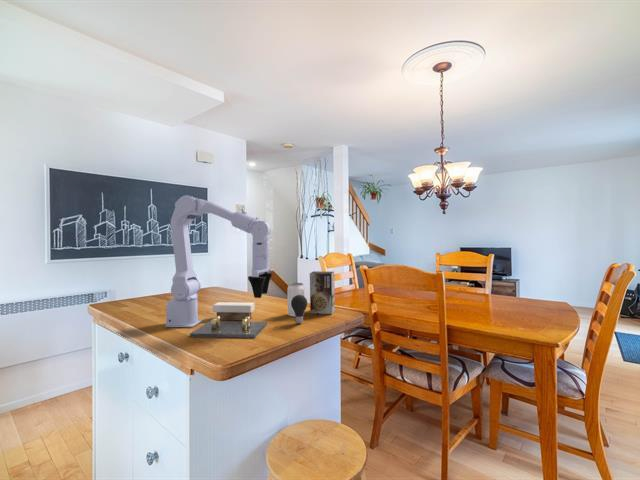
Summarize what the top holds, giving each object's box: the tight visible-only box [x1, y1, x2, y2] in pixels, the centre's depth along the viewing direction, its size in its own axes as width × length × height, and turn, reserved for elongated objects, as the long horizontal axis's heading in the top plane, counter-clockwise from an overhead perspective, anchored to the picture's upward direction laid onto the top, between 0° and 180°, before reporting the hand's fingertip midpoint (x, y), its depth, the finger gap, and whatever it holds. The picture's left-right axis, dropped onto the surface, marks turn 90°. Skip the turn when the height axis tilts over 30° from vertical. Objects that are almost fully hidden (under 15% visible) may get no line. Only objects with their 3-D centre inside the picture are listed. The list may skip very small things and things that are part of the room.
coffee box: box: [309, 270, 336, 315], centre depth 122 cm, size 9×6×16 cm
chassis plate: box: [189, 315, 268, 339], centre depth 98 cm, size 20×14×4 cm
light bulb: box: [291, 295, 308, 325], centre depth 105 cm, size 6×6×10 cm
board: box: [212, 301, 256, 314], centre depth 112 cm, size 14×5×2 cm, turn 86°
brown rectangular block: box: [216, 312, 252, 321], centre depth 112 cm, size 12×3×3 cm, turn 86°
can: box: [287, 282, 305, 318], centre depth 118 cm, size 6×6×12 cm
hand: (260, 295), depth 104 cm, fingers open, 7 cm apart
